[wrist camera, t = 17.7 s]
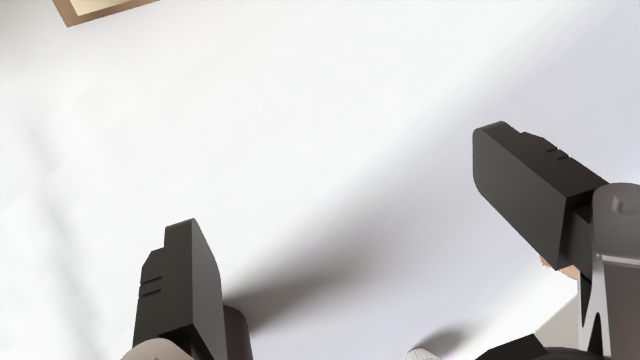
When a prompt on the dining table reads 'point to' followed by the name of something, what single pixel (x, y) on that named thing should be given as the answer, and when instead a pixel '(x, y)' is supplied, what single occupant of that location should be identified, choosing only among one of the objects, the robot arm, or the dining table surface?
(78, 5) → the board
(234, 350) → the vinegar
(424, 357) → the muffin
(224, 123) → the dining table surface
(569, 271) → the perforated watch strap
